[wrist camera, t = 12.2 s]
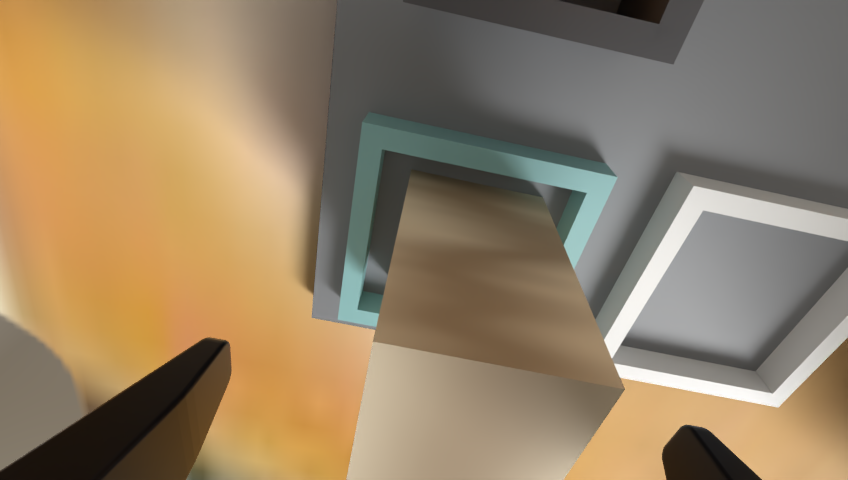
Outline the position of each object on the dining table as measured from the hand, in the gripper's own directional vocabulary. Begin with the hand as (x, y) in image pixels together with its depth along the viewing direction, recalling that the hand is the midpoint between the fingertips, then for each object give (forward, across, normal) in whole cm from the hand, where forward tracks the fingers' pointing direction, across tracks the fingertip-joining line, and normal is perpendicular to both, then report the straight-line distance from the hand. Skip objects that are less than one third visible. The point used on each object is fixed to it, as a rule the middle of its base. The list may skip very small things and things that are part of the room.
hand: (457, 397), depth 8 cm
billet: (+6, 0, 0) cm, 6 cm away
